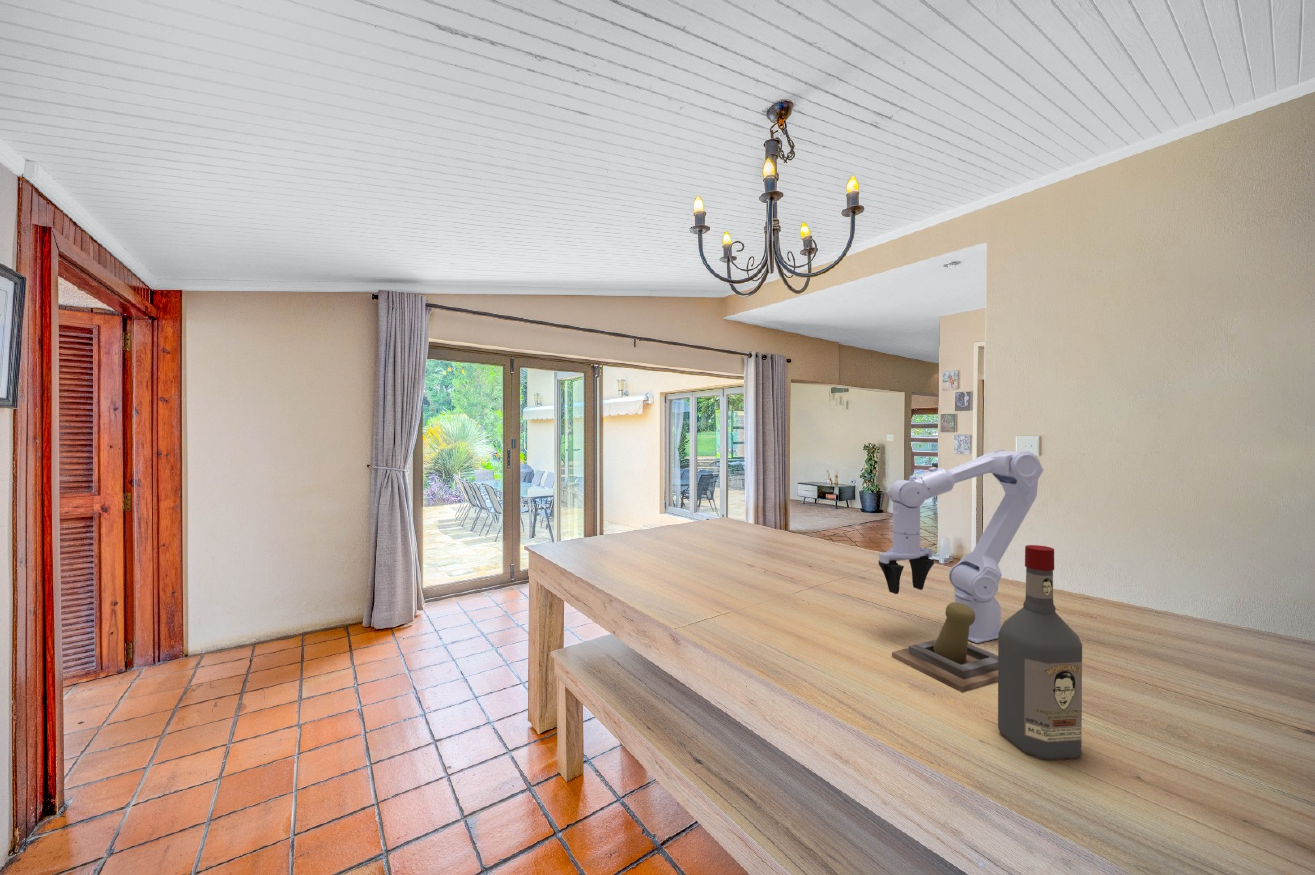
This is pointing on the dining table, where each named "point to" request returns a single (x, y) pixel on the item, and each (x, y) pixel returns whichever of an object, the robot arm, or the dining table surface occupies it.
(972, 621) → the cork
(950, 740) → the dining table surface
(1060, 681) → the liquor
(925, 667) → the socket board
